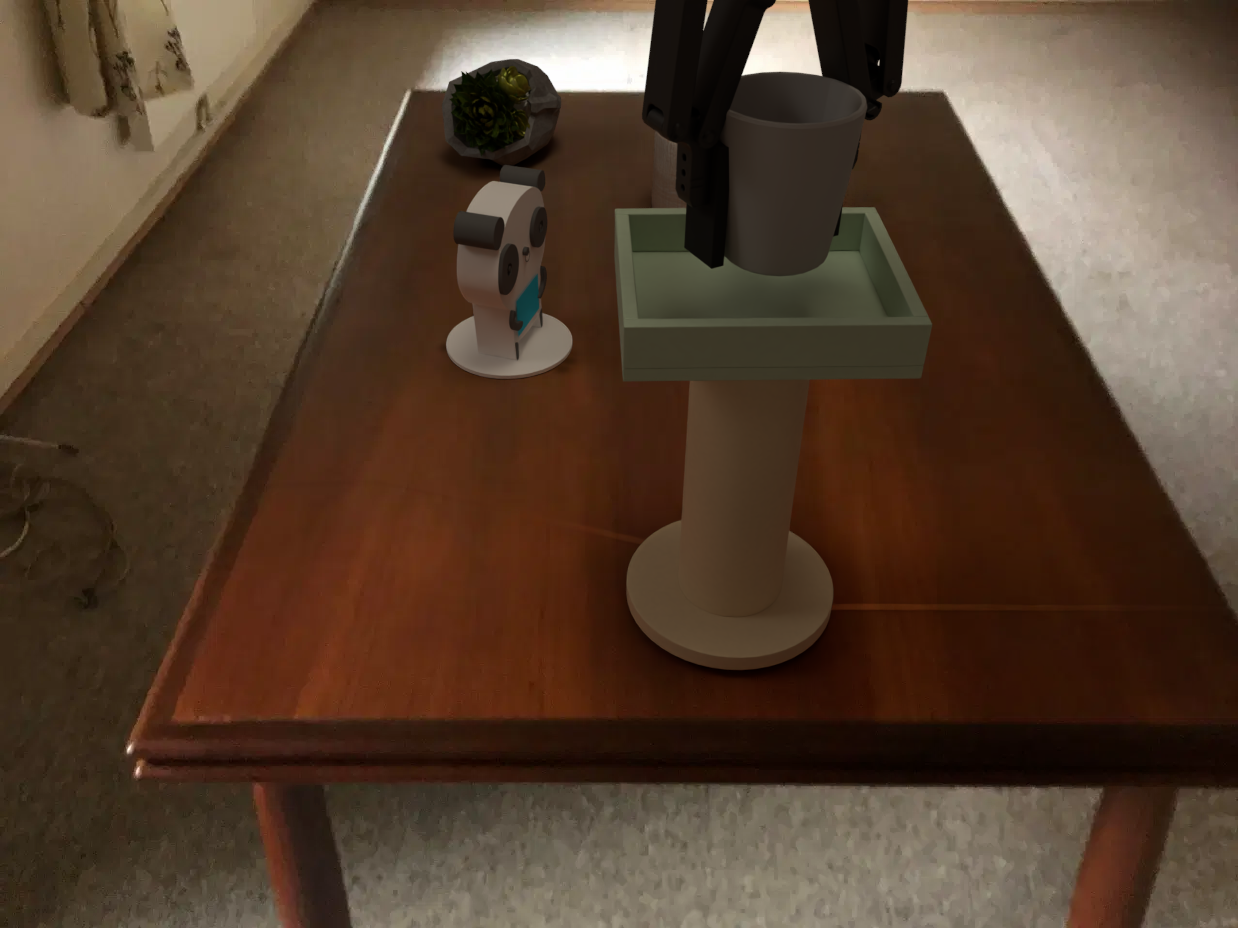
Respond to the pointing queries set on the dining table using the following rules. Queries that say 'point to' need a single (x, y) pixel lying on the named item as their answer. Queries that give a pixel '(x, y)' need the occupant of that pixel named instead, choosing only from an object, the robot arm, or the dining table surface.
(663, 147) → the planter
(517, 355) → the panda figurine
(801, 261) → the cup
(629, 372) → the tray
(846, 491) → the dining table surface
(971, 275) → the dining table surface
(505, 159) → the potted plant
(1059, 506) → the dining table surface
